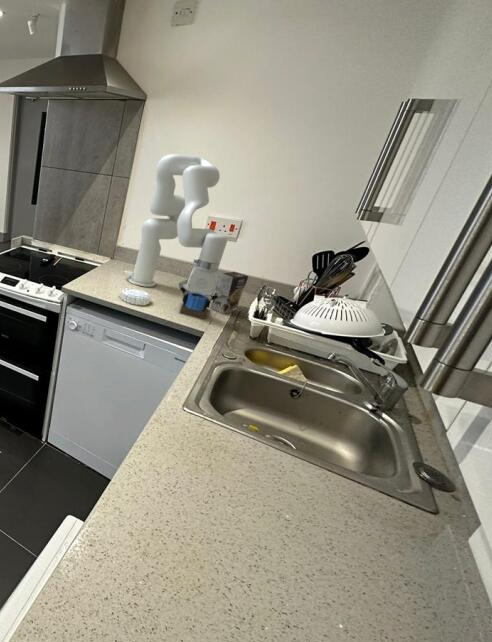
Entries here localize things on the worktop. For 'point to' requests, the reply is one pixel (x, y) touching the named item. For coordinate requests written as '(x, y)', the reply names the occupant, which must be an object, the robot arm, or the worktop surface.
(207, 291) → the robot arm
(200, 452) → the worktop surface
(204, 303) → the blue ribbed cylinder
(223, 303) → the coffee box
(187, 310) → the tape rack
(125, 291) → the mooncake
